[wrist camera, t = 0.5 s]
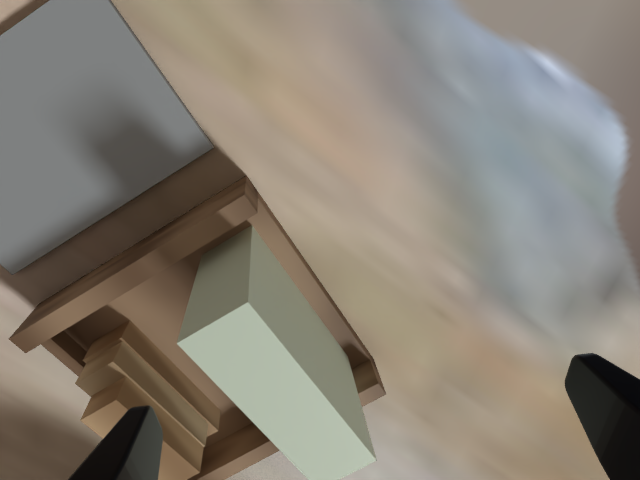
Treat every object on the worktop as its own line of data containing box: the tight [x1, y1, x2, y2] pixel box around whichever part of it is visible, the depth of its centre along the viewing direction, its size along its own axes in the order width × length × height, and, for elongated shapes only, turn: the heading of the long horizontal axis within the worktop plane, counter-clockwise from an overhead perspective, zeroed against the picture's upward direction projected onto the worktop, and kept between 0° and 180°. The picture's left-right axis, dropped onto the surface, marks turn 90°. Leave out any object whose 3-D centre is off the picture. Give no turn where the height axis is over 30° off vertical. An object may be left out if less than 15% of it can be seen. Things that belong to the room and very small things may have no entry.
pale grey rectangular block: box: [177, 225, 377, 480], centre depth 20 cm, size 3×10×7 cm, turn 30°
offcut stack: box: [75, 320, 221, 480], centre depth 22 cm, size 2×8×4 cm, turn 30°
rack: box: [9, 176, 386, 480], centre depth 23 cm, size 13×14×3 cm
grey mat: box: [0, 0, 214, 275], centre depth 19 cm, size 12×8×1 cm, turn 120°
